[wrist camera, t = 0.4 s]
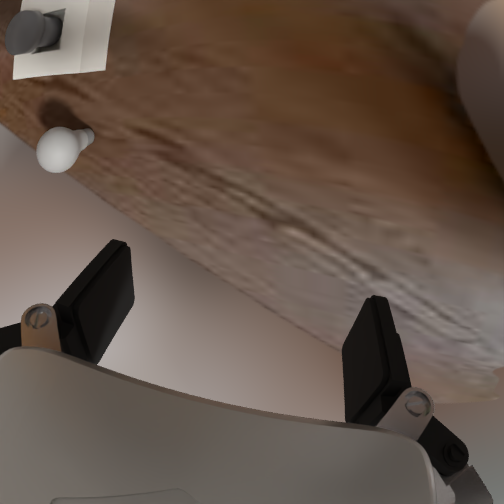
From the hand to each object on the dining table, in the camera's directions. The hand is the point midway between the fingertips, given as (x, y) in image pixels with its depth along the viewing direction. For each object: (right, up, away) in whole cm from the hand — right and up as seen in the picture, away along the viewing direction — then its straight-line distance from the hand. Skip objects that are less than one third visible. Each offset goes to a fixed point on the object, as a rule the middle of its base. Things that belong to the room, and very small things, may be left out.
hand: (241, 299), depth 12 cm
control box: (-25, +39, +16) cm, 49 cm away
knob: (-26, +31, +15) cm, 44 cm away
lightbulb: (-24, +19, +29) cm, 42 cm away
